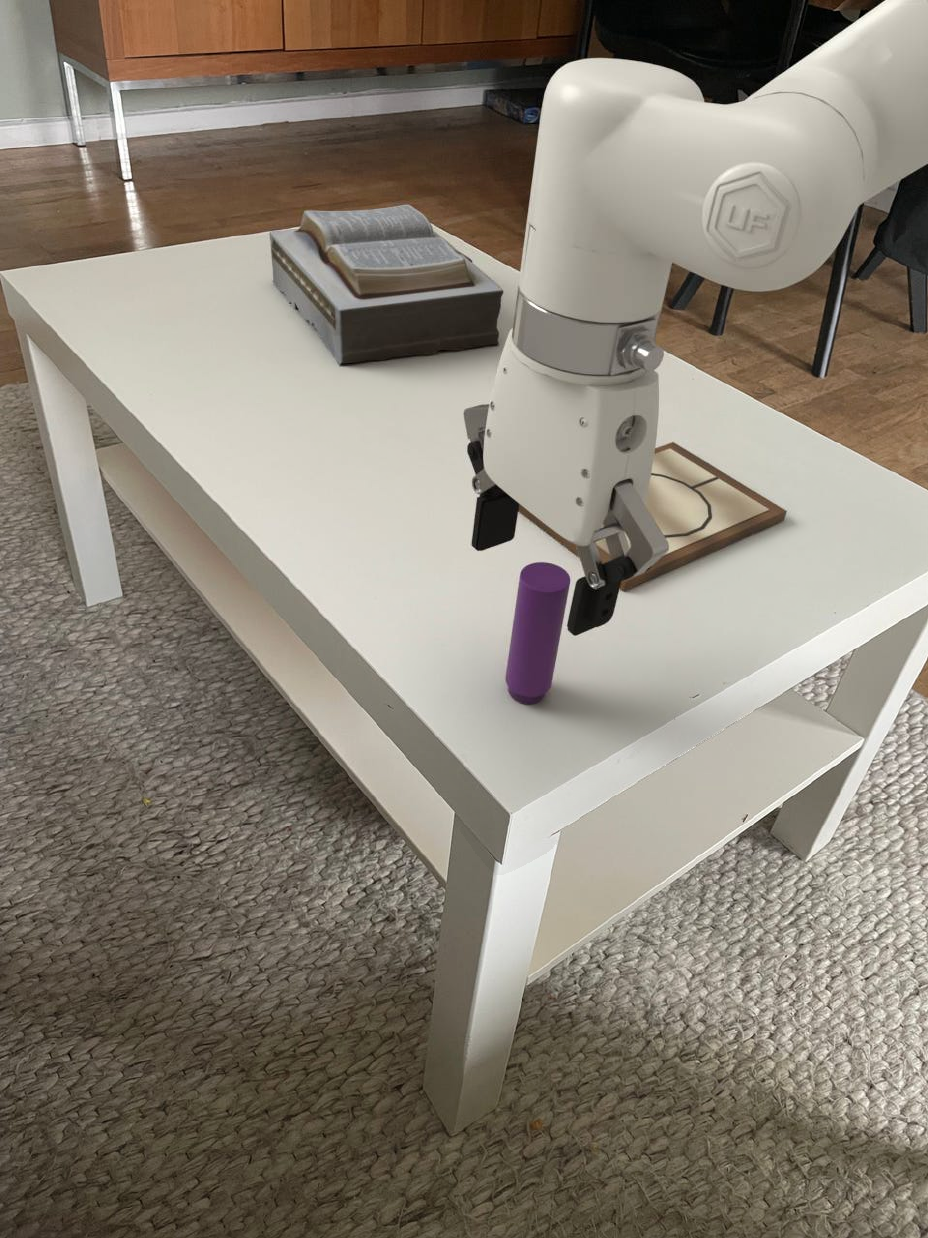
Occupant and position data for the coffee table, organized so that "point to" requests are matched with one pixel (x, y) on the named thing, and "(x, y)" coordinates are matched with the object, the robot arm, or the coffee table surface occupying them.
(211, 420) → the coffee table surface
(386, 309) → the bible
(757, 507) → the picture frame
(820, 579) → the coffee table surface
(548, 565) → the marker
